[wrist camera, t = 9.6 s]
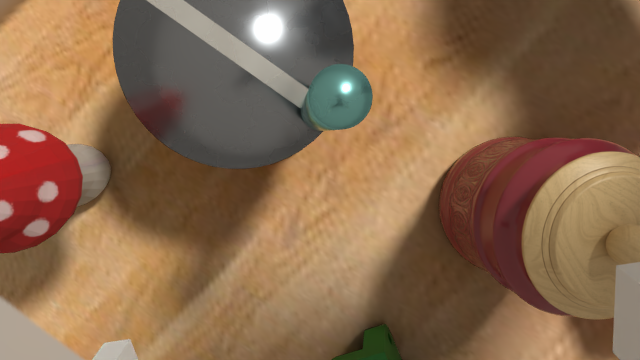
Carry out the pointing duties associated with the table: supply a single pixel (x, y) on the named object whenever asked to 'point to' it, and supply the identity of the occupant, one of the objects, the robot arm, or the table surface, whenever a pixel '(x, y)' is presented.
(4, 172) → the decorative mushroom
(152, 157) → the table surface
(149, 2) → the crank wheel
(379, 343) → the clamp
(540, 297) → the canister
